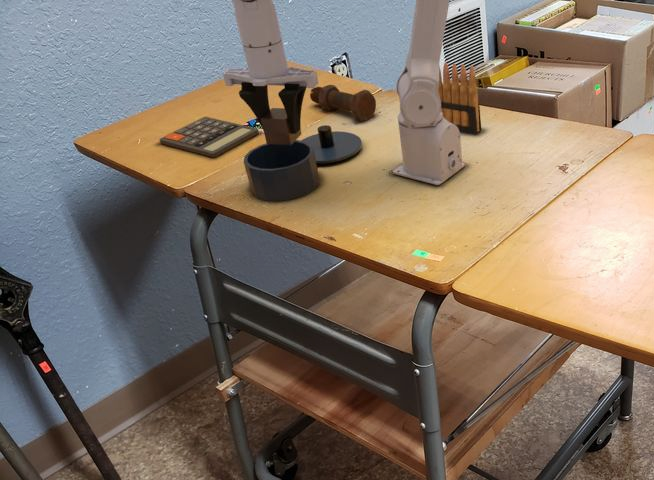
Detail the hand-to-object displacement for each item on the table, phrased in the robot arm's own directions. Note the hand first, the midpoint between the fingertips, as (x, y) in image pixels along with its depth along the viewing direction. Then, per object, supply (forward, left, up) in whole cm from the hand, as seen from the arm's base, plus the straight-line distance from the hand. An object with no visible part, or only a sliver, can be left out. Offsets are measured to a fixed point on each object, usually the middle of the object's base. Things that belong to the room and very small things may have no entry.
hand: (282, 130), depth 112 cm
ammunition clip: (-12, -30, -10) cm, 34 cm away
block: (0, 0, -1) cm, 1 cm away
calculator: (+28, -6, -10) cm, 31 cm away
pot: (+1, +1, -10) cm, 10 cm away
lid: (+3, -12, -9) cm, 16 cm away
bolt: (+13, -28, -10) cm, 32 cm away
